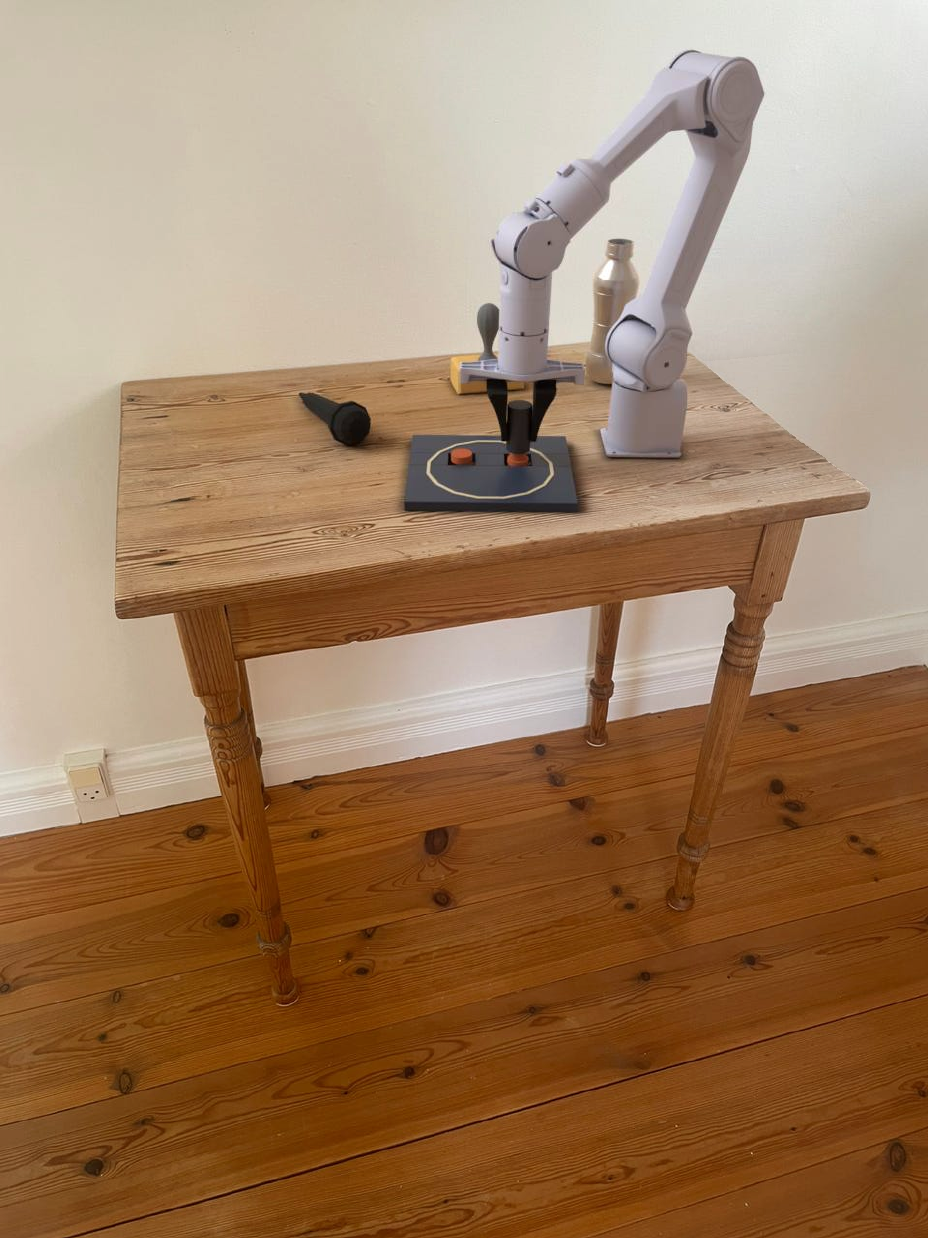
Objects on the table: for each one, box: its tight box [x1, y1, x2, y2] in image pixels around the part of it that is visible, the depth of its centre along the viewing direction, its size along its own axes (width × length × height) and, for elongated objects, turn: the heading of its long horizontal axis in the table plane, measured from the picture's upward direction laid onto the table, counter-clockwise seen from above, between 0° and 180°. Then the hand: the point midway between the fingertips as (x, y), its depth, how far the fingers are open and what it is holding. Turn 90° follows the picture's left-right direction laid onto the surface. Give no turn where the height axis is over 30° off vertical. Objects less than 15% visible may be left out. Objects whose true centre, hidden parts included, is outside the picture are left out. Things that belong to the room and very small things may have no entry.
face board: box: [403, 434, 579, 513], centre depth 113 cm, size 20×18×1 cm
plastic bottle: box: [585, 238, 641, 385], centre depth 133 cm, size 6×7×20 cm
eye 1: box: [450, 449, 472, 466], centre depth 114 cm, size 3×3×1 cm
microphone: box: [298, 391, 372, 447], centre depth 125 cm, size 6×6×20 cm
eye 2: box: [506, 455, 529, 466], centre depth 115 cm, size 3×3×1 cm
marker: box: [506, 399, 533, 461], centre depth 112 cm, size 3×3×7 cm
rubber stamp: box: [450, 302, 525, 395], centre depth 134 cm, size 10×6×12 cm, turn 103°
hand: (518, 438), depth 113 cm, fingers closed on marker, 3 cm apart
